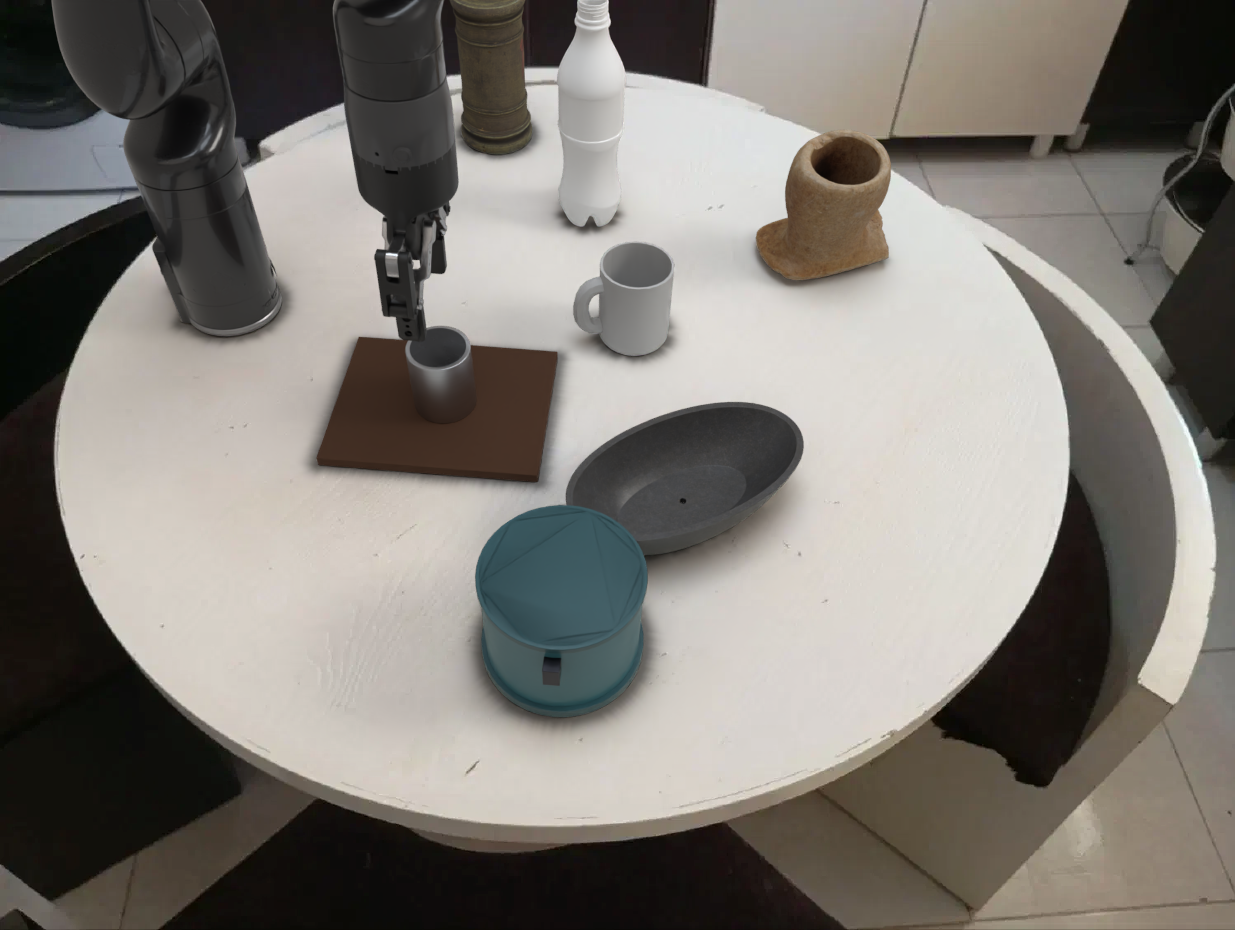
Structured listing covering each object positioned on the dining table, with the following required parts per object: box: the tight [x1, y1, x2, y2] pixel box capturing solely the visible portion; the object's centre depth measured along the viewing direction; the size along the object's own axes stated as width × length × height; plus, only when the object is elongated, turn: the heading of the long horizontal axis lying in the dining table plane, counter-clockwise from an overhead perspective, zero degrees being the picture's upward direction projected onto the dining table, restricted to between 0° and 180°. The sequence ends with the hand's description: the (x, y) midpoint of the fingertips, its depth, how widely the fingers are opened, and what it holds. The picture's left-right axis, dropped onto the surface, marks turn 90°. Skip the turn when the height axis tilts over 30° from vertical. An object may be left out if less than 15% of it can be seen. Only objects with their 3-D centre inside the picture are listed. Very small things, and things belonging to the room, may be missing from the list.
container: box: [449, 0, 533, 155], centre depth 118 cm, size 9×9×18 cm
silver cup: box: [405, 325, 477, 424], centre depth 91 cm, size 6×6×7 cm
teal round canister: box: [474, 504, 649, 718], centre depth 75 cm, size 13×14×10 cm
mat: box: [315, 336, 559, 483], centre depth 94 cm, size 20×16×1 cm
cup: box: [572, 240, 675, 357], centre depth 98 cm, size 7×10×9 cm
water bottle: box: [556, 0, 627, 228], centre depth 105 cm, size 7×7×25 cm
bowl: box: [564, 401, 805, 556], centre depth 85 cm, size 12×22×6 cm, turn 119°
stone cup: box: [755, 129, 892, 281], centre depth 105 cm, size 15×12×15 cm
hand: (424, 303), depth 84 cm, fingers open, 8 cm apart
